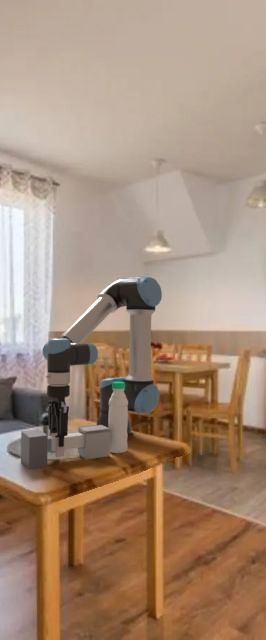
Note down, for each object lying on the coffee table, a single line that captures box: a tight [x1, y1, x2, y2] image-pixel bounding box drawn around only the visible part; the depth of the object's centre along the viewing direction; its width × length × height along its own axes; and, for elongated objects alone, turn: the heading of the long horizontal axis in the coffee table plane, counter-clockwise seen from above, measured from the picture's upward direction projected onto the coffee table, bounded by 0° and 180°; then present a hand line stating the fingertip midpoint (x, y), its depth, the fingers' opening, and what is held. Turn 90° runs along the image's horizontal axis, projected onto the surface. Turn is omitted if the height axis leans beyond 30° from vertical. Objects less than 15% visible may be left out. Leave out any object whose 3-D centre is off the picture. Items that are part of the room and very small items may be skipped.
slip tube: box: [47, 432, 85, 453], centre depth 158 cm, size 19×4×4 cm, turn 120°
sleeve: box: [77, 424, 111, 460], centre depth 162 cm, size 9×7×10 cm
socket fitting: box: [20, 429, 49, 470], centre depth 152 cm, size 6×9×10 cm, turn 30°
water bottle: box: [108, 382, 129, 454], centre depth 168 cm, size 7×7×25 cm
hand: (57, 453), depth 156 cm, fingers closed on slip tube, 4 cm apart
